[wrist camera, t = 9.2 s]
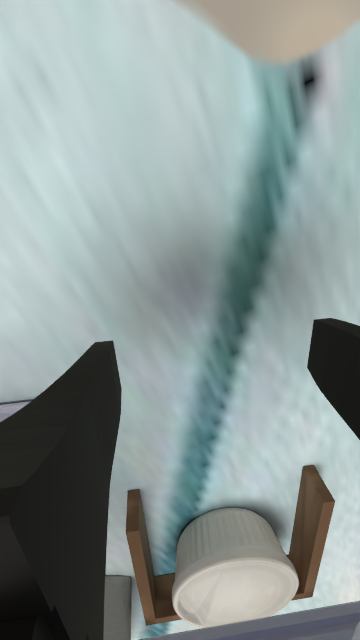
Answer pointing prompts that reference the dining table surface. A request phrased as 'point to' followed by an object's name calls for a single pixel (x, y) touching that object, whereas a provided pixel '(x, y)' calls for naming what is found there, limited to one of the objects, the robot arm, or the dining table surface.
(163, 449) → the dining table surface
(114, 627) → the soda pack
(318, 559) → the box
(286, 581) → the ramekin
